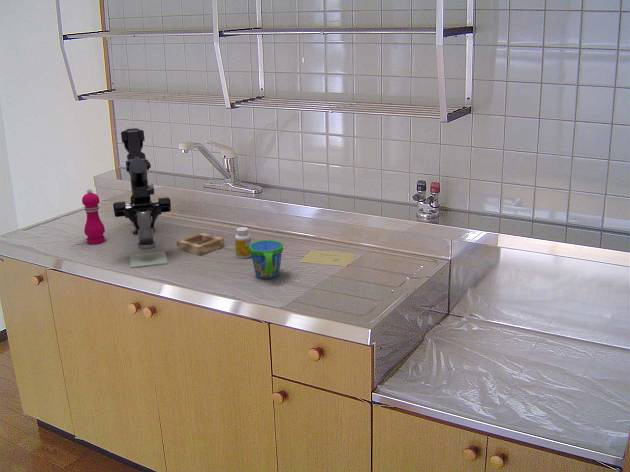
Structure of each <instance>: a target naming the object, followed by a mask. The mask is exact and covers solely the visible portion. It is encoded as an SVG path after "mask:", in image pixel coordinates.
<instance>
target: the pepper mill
mask: <svg viewBox="0 0 630 472" xmlns="http://www.w3.org/2000/svg"><path fill="white" fill-rule="evenodd" d="M81 203H82V205H83V206H84V212H85V213H86V222H85V225H84V234H85V236H86V241H87V244H89V245H100V244H103V243H104V242H105V241H106V239H105V235H104V234H105V232H106V229H105V226H104V223H103V222H102V220H101V218H100V215H99V211H100V206H99V203H100V197H99V196H98V194H96V193H94V192H93V190H92V189H91V188H90V189H89V188H88V189H87V190H86V194H84V195H83V196H82V199H81Z"/></svg>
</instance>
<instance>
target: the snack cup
mask: <svg viewBox="0 0 630 472" xmlns="http://www.w3.org/2000/svg"><path fill="white" fill-rule="evenodd" d="M249 251H250V253H251V260H252V265H253V269H254V275H255V276H256V277H257V278H258V279H263V280H271V279H274V278H277V277H279V275H280V270H281V261H282V253H283V251H284V244H283V243H282V242H281V241H278V240H274V239H273V240H272V239H266V240H265V239H264V240H258V241H254V242H251V245H250V246H249Z"/></svg>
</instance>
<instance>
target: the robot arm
mask: <svg viewBox="0 0 630 472" xmlns="http://www.w3.org/2000/svg"><path fill="white" fill-rule="evenodd" d="M120 137H121V144H123V145H124V150H125V151H126V152H127V153H128V154H127V155H126V159H127V161H125V168H126V172H127V173H128V175H129V177H130V187H131V196H130V202H129V203H127V204H126V201H117V202H116V201H115V202H113V205H112V206H113V208H112V209H113V213H114V217H116V218H120V217H124V218H125V219H129V221H130V222H131V223H132V225H133V226H134V229H135V230H133V232H132V235H138V227H137V219H136V211H137V210H140V209H149V210H151V220H152V229H153V230H154V229H155V224H156V222H157V219H158V218H159V215H162V213H169V212H172V210H171V209H172V206H171V205H172V203H171V202H172V201H171V199H170V198H169V196H168V197H158V199H157V200H158V201H157V202H152V200H151V195H152V196H153V195H155V187H154V184H149V180H148V171H149V170H150V169H151V168H152V166H151V165H152V164H151V162H150V161H149V160H148V159H146V154H145V153H144V152H143V151H142V150H143V147H144V142H145V141H146V140H145V138H146V137H145V132H144V130H143V129H140V128H137V127H136V128H127V129H125V130H123V131H121V132H120Z"/></svg>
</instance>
